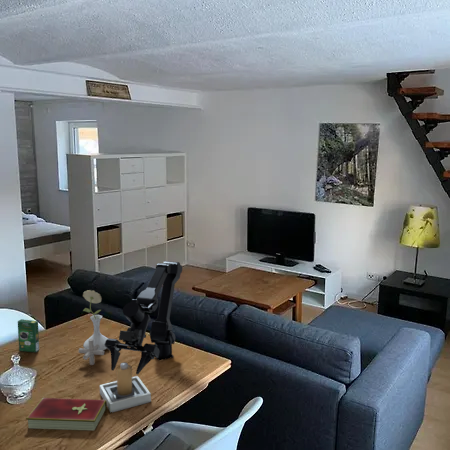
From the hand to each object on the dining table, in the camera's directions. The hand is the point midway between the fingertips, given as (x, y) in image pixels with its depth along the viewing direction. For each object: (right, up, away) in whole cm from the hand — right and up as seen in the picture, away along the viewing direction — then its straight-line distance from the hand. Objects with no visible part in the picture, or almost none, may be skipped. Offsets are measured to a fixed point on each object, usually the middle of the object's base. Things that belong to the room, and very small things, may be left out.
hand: (124, 372), depth 158 cm
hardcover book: (-15, -12, -11) cm, 22 cm away
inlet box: (0, -9, +1) cm, 9 cm away
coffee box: (-47, -3, +37) cm, 60 cm away
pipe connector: (-18, -5, +25) cm, 32 cm away
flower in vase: (-20, -2, +40) cm, 45 cm away
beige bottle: (0, -8, +1) cm, 8 cm away
